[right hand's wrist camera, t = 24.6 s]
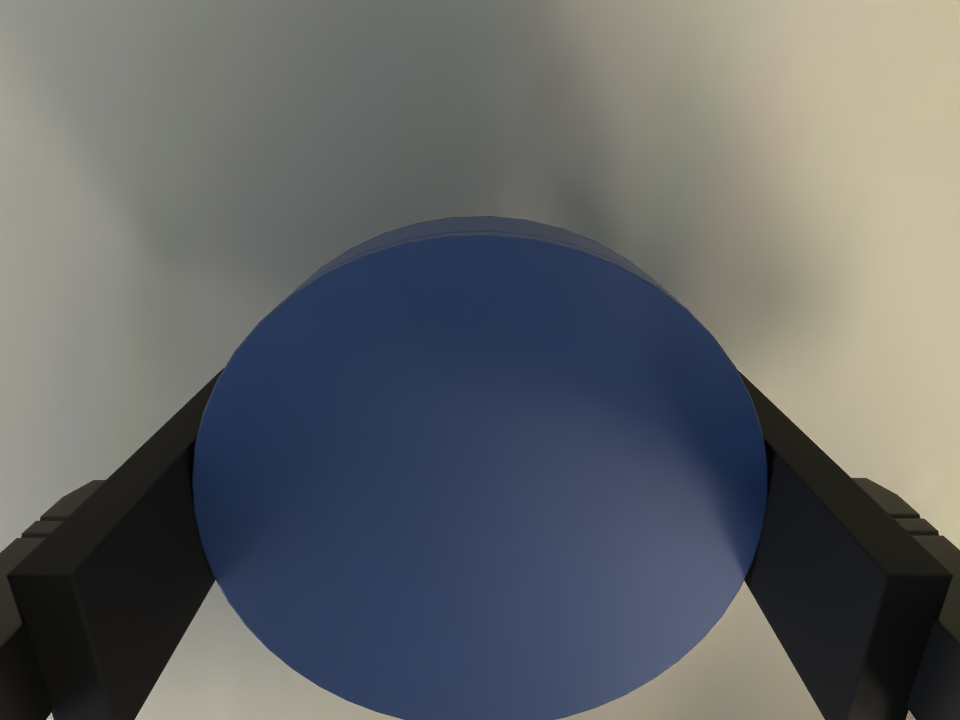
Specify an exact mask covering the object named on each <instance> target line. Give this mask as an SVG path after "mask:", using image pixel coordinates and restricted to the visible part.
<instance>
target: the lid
mask: <svg viewBox="0 0 960 720" xmlns="http://www.w3.org/2000/svg"><path fill="white" fill-rule="evenodd" d="M192 490H193V503H194V513H195V518H196V523H197V528H198V532H199V537H200V541H201V545H202V548H203V550H204V553H205V555H206V558H207V560H208V563H209V566H210V568H211V571H212V573H213V575H214V577H215V579H216V581H217V583H218V584H219V586H220V588H221V590H222V592H223V593H224V595H225V597H226V599H227V601H228V602H229V603H230V605H231V606H232V607H233V609H234V610H235V611H236V613H237V614H238V615H239V617H240V618H241V620H242V621H243V622H244V624H245V625H246V626H247V627H248V628H249V629H250V630H251V632H252V633H253V634H254V635H255V636H256V637H257V638H258V639H259V640H260V641H261V642H262V643H263V644H264V645H265V646H266V647H267V648H268V649H269V650H270V651H271V652H272V653H274V654H275V655H276V656H277V657H279V658H280V659H281V660H282V661H283V662H285V663H286V664H287V665H288V666H289V667H291V668H292V669H293V670H295V671H296V672H298V673H299V674H301V675H302V676H304V677H306V678H307V679H309V680H310V681H312V682H313V683H315V684H316V685H318V686H319V687H321V688H323V689H325V690H327V691H329V692H331V693H333V694H335V695H337V696H339V697H341V698H343V699H345V700H347V701H350V702H352V703H355V704H357V705H360V706H363V707H365V708H368V709H370V710H373V711H376V712H379V713H382V714H386V715H390V716H393V717H397V718H401V719H404V720H555V719H560V718H564V717H568V716H571V715H574V714H578V713H581V712H584V711H587V710H590V709H593V708H596V707H599V706H601V705H603V704H605V703H608V702H610V701H612V700H615V699H617V698H619V697H621V696H624V695H626V694H628V693H630V692H631V691H633V690H635V689H637V688H638V687H640V686H642V685H644V684H645V683H647V682H649V681H651V680H652V679H654V678H655V677H657V676H658V675H659V674H661V673H662V672H664V671H665V670H666V669H668V668H669V667H671V666H672V665H673V664H675V663H676V662H677V661H679V660H680V659H681V658H682V657H683V656H684V655H685V654H686V653H688V652H689V651H690V650H691V649H692V648H693V647H694V646H695V645H696V644H697V643H698V642H700V641H701V640H702V639H703V638H704V636H705V635H706V634H707V633H708V632H709V631H710V629H711V628H712V627H713V626H714V625H715V624H716V622H717V621H718V620H719V619H720V618H721V617H722V615H723V614H724V612H725V611H726V609H727V608H728V606H729V605H730V603H731V602H732V600H733V599H734V597H735V596H736V594H737V592H738V591H739V589H740V587H741V585H742V583H743V581H744V579H745V577H746V575H747V573H748V571H749V569H750V566H751V564H752V562H753V560H754V557H755V554H756V550H757V547H758V544H759V541H760V537H761V533H762V527H763V522H764V517H765V511H766V506H767V500H768V464H767V457H766V451H765V445H764V438H763V432H762V429H761V426H760V423H759V419H758V416H757V413H756V410H755V407H754V404H753V401H752V398H751V396H750V394H749V392H748V390H747V388H746V386H745V384H744V383H743V381H742V379H741V377H740V375H739V373H738V371H737V369H736V367H735V365H734V364H733V363H732V361H731V360H730V359H729V357H728V356H727V354H726V353H725V352H724V350H723V349H722V347H721V346H720V345H719V343H718V342H717V341H716V339H715V338H714V336H713V335H712V334H711V333H710V332H709V331H708V330H707V329H706V328H705V327H704V326H703V325H702V324H701V323H700V322H699V321H698V320H697V319H696V318H695V317H694V316H693V315H692V314H691V313H690V312H689V311H688V310H687V309H686V308H685V307H684V306H683V305H682V304H680V303H679V302H678V301H677V300H676V299H675V298H674V297H673V296H671V295H670V294H669V293H668V292H667V291H666V290H665V289H664V288H663V287H661V286H660V285H659V284H658V283H657V282H656V281H655V280H654V279H652V278H651V277H650V276H648V275H647V274H646V273H644V272H643V271H642V270H640V269H639V268H638V267H637V266H635V265H634V264H633V263H631V262H630V261H629V260H627V259H626V258H624V257H622V256H621V255H619V254H617V253H615V252H613V251H612V250H610V249H608V248H606V247H604V246H603V245H601V244H599V243H597V242H595V241H593V240H590V239H588V238H585V237H583V236H580V235H577V234H575V233H572V232H570V231H567V230H565V229H562V228H558V227H554V226H549V225H545V224H541V223H537V222H533V221H529V220H522V219H512V218H502V217H492V216H482V217H452V218H446V219H440V220H434V221H428V222H422V223H416V224H413V225H410V226H407V227H403V228H400V229H397V230H394V231H391V232H387V233H384V234H381V235H379V236H377V237H375V238H373V239H370V240H368V241H366V242H364V243H362V244H360V245H358V246H355V247H353V248H351V249H349V250H348V251H346V252H345V253H343V254H342V255H340V256H338V257H337V258H335V259H334V260H332V261H331V262H329V263H328V264H326V265H325V266H323V267H321V268H320V269H319V270H318V271H317V272H316V273H314V274H313V275H312V276H311V277H310V278H309V279H307V280H306V281H305V282H304V283H303V284H302V285H301V286H299V287H298V288H297V289H296V290H295V291H294V292H293V293H292V294H290V295H289V296H288V297H287V298H286V299H285V300H284V301H283V302H281V303H280V304H279V305H278V306H277V307H276V308H275V309H274V310H273V311H271V312H270V313H269V314H268V315H267V316H266V317H265V318H264V319H263V320H261V321H260V322H259V324H258V325H257V326H256V327H255V328H254V329H253V331H252V332H251V333H250V334H249V335H248V336H247V338H246V339H245V340H244V341H243V342H242V343H241V345H240V346H239V347H238V348H237V349H236V351H235V352H234V354H233V355H232V357H231V359H230V360H229V362H228V363H227V365H226V367H225V368H224V370H223V372H222V373H221V375H220V376H219V378H218V380H217V381H216V384H215V386H214V388H213V391H212V393H211V395H210V398H209V400H208V403H207V405H206V407H205V410H204V412H203V415H202V419H201V423H200V427H199V431H198V435H197V439H196V443H195V449H194V461H193V473H192Z"/></svg>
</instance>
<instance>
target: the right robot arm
mask: <svg viewBox="0 0 960 720" xmlns="http://www.w3.org/2000/svg"><path fill="white" fill-rule="evenodd" d="M223 370H224V368H223V369H222V370H221V371H220V372H219V373H218V374H217V375H216V376H215V377H214V378H213V379H212V380H211V381H210V382H209V383H208V384H207V385H206V386H204V387H203V388H202V389H201V390H200V391H199V392H198V393H197V394H196V395H195V396H194V397H193V398H192V399H191V400H190V401H189V402H188V403H187V404H186V405H185V406H184V407H182V408H181V409H180V410H179V411H178V412H177V413H176V414H175V415H174V416H173V417H172V418H171V419H170V420H169V421H168V422H167V423H166V424H165V425H164V426H163V427H161V428H160V429H159V430H158V431H157V432H156V433H155V434H154V435H153V436H152V437H151V438H150V439H149V440H148V441H147V442H146V443H145V444H144V445H143V446H142V447H140V448H139V449H138V450H137V451H136V452H135V453H134V454H133V455H132V456H131V457H130V458H129V459H128V460H127V461H126V462H125V463H124V464H123V465H122V466H121V467H120V468H118V469H117V470H116V471H115V472H114V473H113V474H112V475H111V476H110V477H109V478H108V479H107V480H93V481H91V482H90V483H88V484H86V485H84V486H82V487H80V488H79V489H77V490H75V491H73V492H71V493H69V494H68V495H66V496H64V497H62V498H61V499H60V500H59V501H58V502H57V503H56V504H55V505H53V506H52V507H51V508H50V509H49V510H48V511H47V512H46V513H44V514H43V515H42V516H41V517H40V518H41V519H40V521H35V522H34V523H33V524H32V525H31V526H30V527H29V528H28V529H27V530H25V531H24V532H23V533H22V537H21V538H16V539H15V540H14V541H13V542H12V543H11V544H10V545H9V546H8V547H6V548H5V549H4V550H3V551H2V552H1V553H0V720H46V719H47V717H48V716H49V715H50V713H51V712H52V715H53V718H54V720H135V718H136V716H137V714H138V713H139V711H140V709H141V707H142V706H143V704H144V702H145V701H146V699H147V697H148V695H149V694H150V692H151V690H152V688H153V687H154V685H155V683H156V682H157V680H158V678H159V676H160V675H161V673H162V671H163V669H164V668H165V666H166V664H167V663H168V661H169V659H170V657H171V656H172V654H173V652H174V651H175V649H176V647H177V645H178V644H179V642H180V640H181V638H182V637H183V635H184V633H185V632H186V630H187V628H188V626H189V625H190V623H191V621H192V619H193V618H194V616H195V614H196V613H197V611H198V609H199V607H200V606H201V604H202V602H203V600H204V599H205V597H206V595H207V594H208V592H209V590H210V588H211V587H212V585H213V583H214V581H215V580H216V579H215V577H214V575H213V573H212V571H211V568H210V566H209V563H208V560H207V558H206V555H205V553H204V550H203V548H202V545H201V541H200V537H199V532H198V528H197V523H196V518H195V513H194V503H193V490H192V473H193V461H194V449H195V443H196V439H197V435H198V431H199V427H200V423H201V419H202V415H203V412H204V410H205V407H206V405H207V403H208V400H209V398H210V395H211V393H212V391H213V388H214V386H215V384H216V381H217V380H218V378H219V376H220V375H221V373H222V372H223ZM737 371H738V370H737ZM738 373H739V375H740V377H741V379H742V381H743V383H744V384H745V386H746V388H747V390H748V392H749V394H750V396H751V398H752V401H753V404H754V407H755V410H756V413H757V416H758V419H759V423H760V426H761V429H762V432H763V438H764V445H765V451H766V457H767V464H768V500H767V506H766V511H765V517H764V522H763V527H762V533H761V537H760V541H759V544H758V547H757V550H756V554H755V557H754V560H753V562H752V564H751V566H750V569H749V571H748V573H747V575H746V577H745V579H744V580H745V582H746V584H747V586H748V587H749V589H750V591H751V593H752V594H753V596H754V598H755V599H756V601H757V603H758V605H759V606H760V608H761V610H762V612H763V613H764V615H765V617H766V618H767V620H768V622H769V624H770V625H771V627H772V629H773V631H774V632H775V634H776V636H777V637H778V639H779V641H780V643H781V644H782V646H783V648H784V650H785V651H786V653H787V655H788V656H789V658H790V660H791V662H792V663H793V665H794V667H795V668H796V670H797V672H798V674H799V675H800V677H801V679H802V681H803V682H804V684H805V686H806V687H807V689H808V691H809V693H810V694H811V696H812V698H813V700H814V701H815V703H816V705H817V706H818V708H819V710H820V712H821V713H822V715H823V717H824V719H825V720H905V719H906V716H907V713H908V710H910V712H911V713H912V715H913V716H914V717H915V719H916V720H960V550H959V549H958V548H957V547H955V546H954V545H953V544H952V543H951V542H950V541H949V540H948V539H946V538H945V537H944V536H939V534H938V531H937V530H936V529H935V528H934V527H933V526H932V525H931V524H930V523H928V522H927V521H926V520H925V519H920V515H919V514H918V513H917V512H916V511H915V510H914V509H913V508H912V507H910V506H909V505H908V504H907V503H906V502H905V501H904V500H903V499H901V498H900V497H899V496H898V495H897V494H895V493H893V492H891V491H889V490H887V489H886V488H884V487H882V486H880V485H878V484H876V483H874V482H873V481H871V480H869V479H867V478H851V477H849V476H848V475H847V474H846V473H845V472H844V471H843V470H842V469H841V468H840V467H839V466H838V465H837V464H836V463H835V462H834V461H833V460H832V459H831V458H830V457H828V456H827V455H826V454H825V453H824V452H823V451H822V450H821V449H820V448H819V447H818V446H817V445H816V444H815V443H814V442H813V441H812V440H811V439H810V438H809V437H808V436H806V435H805V434H804V433H803V432H802V431H801V430H800V429H799V428H798V427H797V426H796V425H795V424H794V423H793V422H792V421H791V420H790V419H789V418H788V417H787V416H785V415H784V414H783V413H782V412H781V411H780V410H779V409H778V408H777V407H776V406H775V405H774V404H773V403H772V402H771V401H770V400H769V399H768V398H767V397H766V396H765V395H763V394H762V393H761V392H760V391H759V390H758V389H757V388H756V387H755V386H754V385H753V384H752V383H751V382H750V381H749V380H748V379H747V378H746V377H745V376H744V375H742V374H741V373H740V372H739V371H738Z"/></svg>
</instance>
